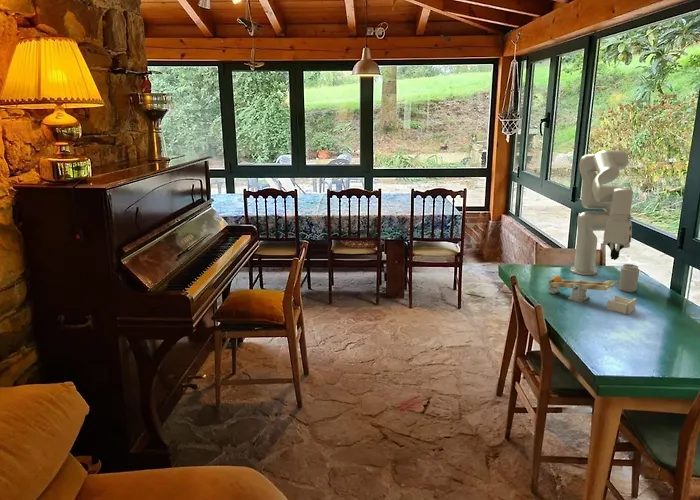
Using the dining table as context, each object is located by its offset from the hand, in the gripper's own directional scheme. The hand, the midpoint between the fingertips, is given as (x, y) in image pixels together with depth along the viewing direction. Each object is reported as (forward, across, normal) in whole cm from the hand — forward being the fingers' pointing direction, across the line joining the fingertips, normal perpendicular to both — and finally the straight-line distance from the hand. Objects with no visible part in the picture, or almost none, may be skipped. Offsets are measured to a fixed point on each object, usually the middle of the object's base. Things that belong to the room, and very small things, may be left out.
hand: (614, 258), depth 228 cm
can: (+19, -1, -19) cm, 27 cm away
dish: (+19, -8, +8) cm, 22 cm away
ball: (+12, +21, +8) cm, 25 cm away
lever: (+13, +10, +4) cm, 17 cm away
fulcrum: (+19, +15, +8) cm, 25 cm away
